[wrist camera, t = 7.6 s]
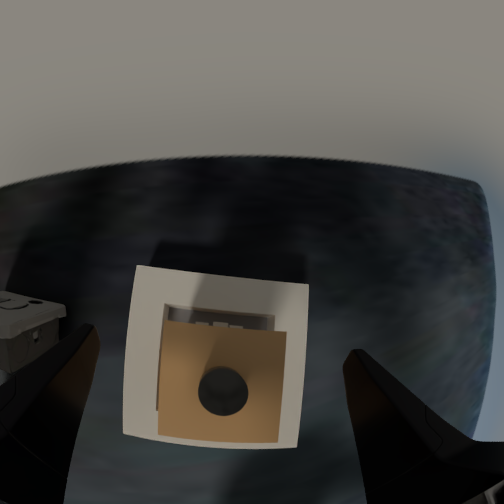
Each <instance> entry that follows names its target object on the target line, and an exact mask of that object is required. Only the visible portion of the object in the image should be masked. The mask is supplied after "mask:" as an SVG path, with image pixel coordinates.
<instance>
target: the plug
mask: <svg viewBox="0 0 504 504" xmlns="http://www.w3.org/2000/svg"><path fill="white" fill-rule="evenodd" d="M286 338H287V332H284V331H267V330H253V329H243V326H233V325H230V326H229V327H228V323H223V322H213V326H209V323H204V322H196V324H191V323H183V322H176V321H169V320H165V321H164V330H163V341H162V352H161V365H160V381H159V402H158V435H163V436H169V437H176V438H183V439H192V440H202V441H214V442H232V443H278V436H279V426H280V416H281V405H282V394H283V381H284V368H285V354H286Z"/></svg>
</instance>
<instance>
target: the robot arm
mask: <svg viewBox="0 0 504 504" xmlns="http://www.w3.org/2000/svg"><path fill="white" fill-rule="evenodd" d="M99 351H100V339H99V336H98V332H97V328H96V327H95V326H94V325H91V324H83V325H82V326H80V327H79V328H77V329H76V330H75V331H73V332H72V333H70V334H69V335H68V336H66V337H65V338H63V339H62V340H61V341H59V342H58V343H57V344H55V345H54V346H53V347H51V348H50V349H48V350H47V351H46V352H44V353H43V354H42V355H40V356H39V357H38V358H36V359H35V360H34V361H32V362H31V363H30V364H28V365H27V366H26V367H24V368H23V369H22V370H21V371H19V372H18V373H17V374H16V375H14V376H13V377H11V378H10V379H9V380H7V381H6V382H5V383H3V384H2V385H1V386H0V504H63V503H64V496H65V489H66V484H67V477H68V472H69V467H70V462H71V458H72V453H73V449H74V445H75V441H76V437H77V433H78V429H79V426H80V422H81V418H82V415H83V411H84V408H85V405H86V401H87V398H88V395H89V392H90V389H91V385H92V381H93V377H94V372H95V368H96V363H97V359H98V355H99ZM343 375H344V383H345V391H346V399H347V405H348V410H349V414H350V418H351V423H352V427H353V432H354V436H355V441H356V446H357V450H358V455H359V460H360V465H361V471H362V476H363V482H364V487H365V493H366V500H367V504H504V442H482V441H475V440H473V439H470V438H469V437H467V436H466V435H464V434H463V433H461V432H460V431H459V430H457V429H456V428H454V427H453V426H452V425H450V424H449V423H447V422H446V421H445V420H443V419H442V418H441V417H440V416H438V415H437V414H436V413H435V412H434V411H432V410H431V409H430V408H429V407H428V406H427V405H425V404H424V403H423V402H422V401H421V400H420V399H419V398H417V397H416V396H415V395H414V394H413V393H412V392H411V391H410V390H408V389H407V388H406V387H405V386H404V385H403V384H402V383H400V382H399V381H398V380H397V379H396V378H395V377H394V376H392V375H391V374H390V373H389V372H388V371H387V370H386V369H384V368H383V367H382V366H381V365H380V364H379V363H378V362H376V361H375V360H374V359H373V358H372V357H371V356H370V355H368V354H367V353H366V352H365V351H364V350H362V349H353V350H351V351H350V353H349V355H348V357H347V358H346V360H345V362H344V364H343Z"/></svg>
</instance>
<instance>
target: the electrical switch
mask: <svg viewBox="0 0 504 504" xmlns="http://www.w3.org/2000/svg"><path fill="white" fill-rule="evenodd" d="M65 316H66V307H65V305H63V304H59V303H54V302H49V301H44V300H40V299H35V298H31V297H27V296H23V295H19V294H15V293H11V292H7V291H0V369H1V370H3V371H6V372H8V373H10V374H11V371H12V373H14V372H15V371H17V370H19V369H20V368H22V367H24V366H25V365H27V364H29V363H30V362H32V361H34V360H35V359H36V358H38V357H39V356H40V355H42V354H43V353H44V352H46V351H47V350H48V349H50V348H51V347H53V346H54V345H55V344H57V343H58V342H59V335H58V331H59V318H61V317H65ZM35 338H36V340H37V341H36V342H34V339H35ZM18 362H19V363H18ZM9 363H10V364H9ZM10 367H11V369H10Z"/></svg>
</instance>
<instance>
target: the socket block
mask: <svg viewBox="0 0 504 504" xmlns="http://www.w3.org/2000/svg"><path fill="white" fill-rule="evenodd" d="M308 294H309V284H298V283H288V282H278V281H268V280H258V279H248V278H239V277H230V276H221V275H212V274H204V273H195V272H187V271H179V270H171V269H163V268H156V267H148V266H141V265H137V268H136V273H135V279H134V286H133V292H132V299H131V306H130V314H129V322H128V331H127V342H126V353H125V367H124V387H123V434H128V435H132V436H137V437H141V438H146V439H151V440H157V441H163V442H169V443H176V444H183V445H192V446H202V447H214V448H231V449H277V448H295V447H297V442H298V433H299V425H300V415H301V406H302V395H303V384H304V371H305V357H306V341H307V321H308ZM165 320H169V321H176V322H183V323H191V324H196V322H204V323H209V326H213V322H223V323H228V327H229V326H230V325H233V326H243V329H253V330H267V331H284V332H287V338H286V354H285V368H284V381H283V394H282V405H281V416H280V426H279V436H278V443H232V442H214V441H202V440H192V439H183V438H176V437H169V436H163V435H158V402H159V381H160V365H161V352H162V341H163V330H164V321H165Z"/></svg>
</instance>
